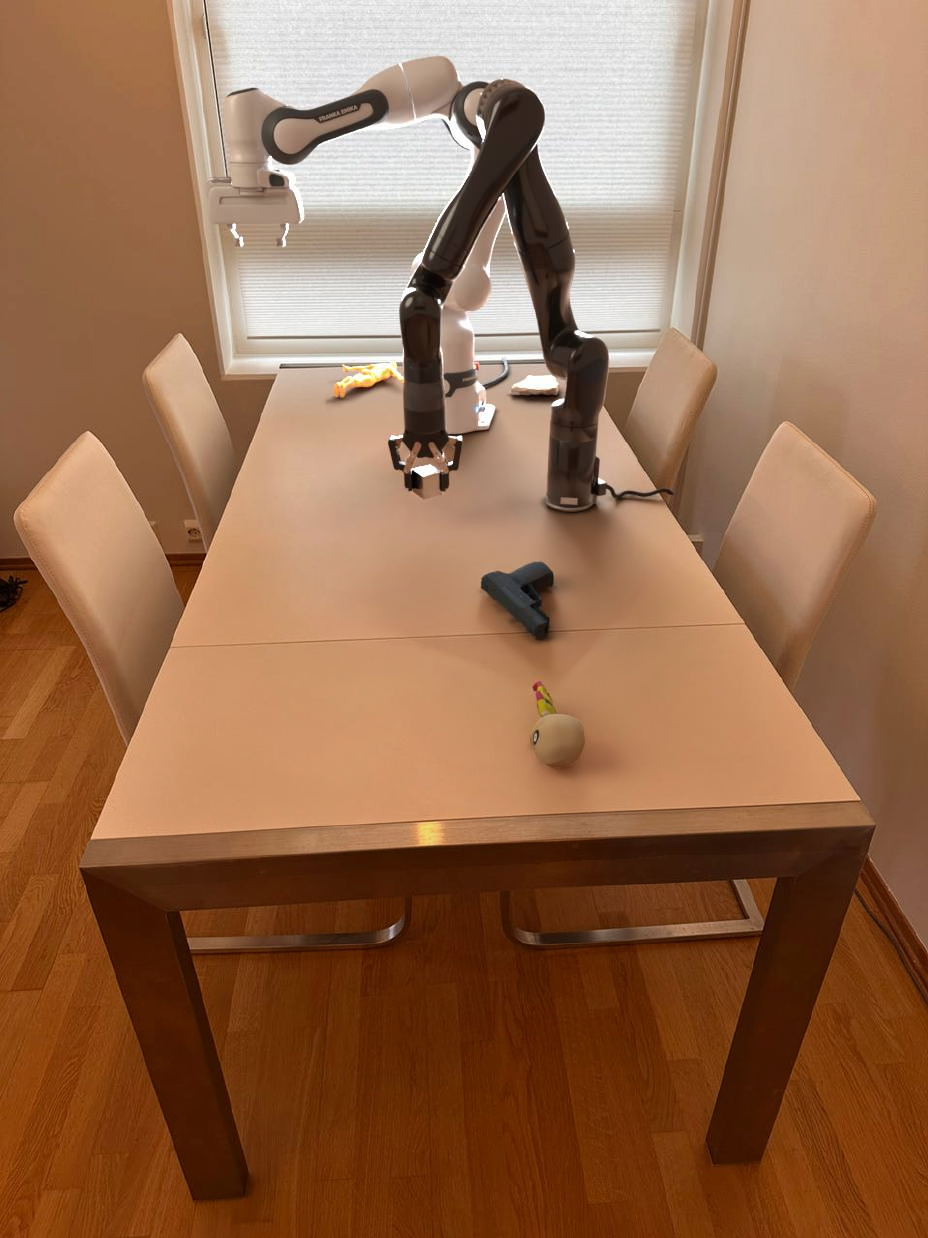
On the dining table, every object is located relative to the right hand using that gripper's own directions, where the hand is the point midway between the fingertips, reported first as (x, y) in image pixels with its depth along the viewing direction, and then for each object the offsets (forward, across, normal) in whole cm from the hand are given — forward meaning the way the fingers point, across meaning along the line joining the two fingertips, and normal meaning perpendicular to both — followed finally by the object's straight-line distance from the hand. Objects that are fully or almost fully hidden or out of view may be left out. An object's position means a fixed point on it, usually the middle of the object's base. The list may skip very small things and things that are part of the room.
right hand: (427, 489), depth 168 cm
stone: (+7, +23, +80) cm, 83 cm away
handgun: (+7, +19, -31) cm, 37 cm away
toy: (+7, +21, -64) cm, 68 cm away
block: (+1, 0, 0) cm, 1 cm away
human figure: (+7, -22, +84) cm, 87 cm away
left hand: (-34, -40, +54) cm, 76 cm away
